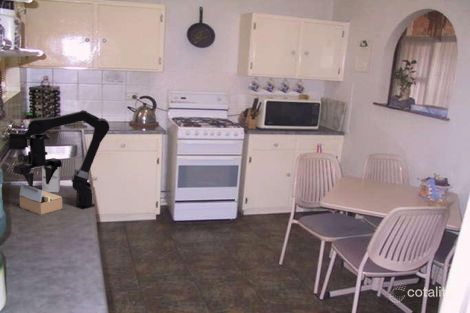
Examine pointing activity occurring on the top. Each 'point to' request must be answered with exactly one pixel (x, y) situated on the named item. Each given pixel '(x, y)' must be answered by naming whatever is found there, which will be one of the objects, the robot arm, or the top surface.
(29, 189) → the flap
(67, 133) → the top surface
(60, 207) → the carton
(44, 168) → the robot arm
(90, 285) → the top surface
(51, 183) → the supplement box
